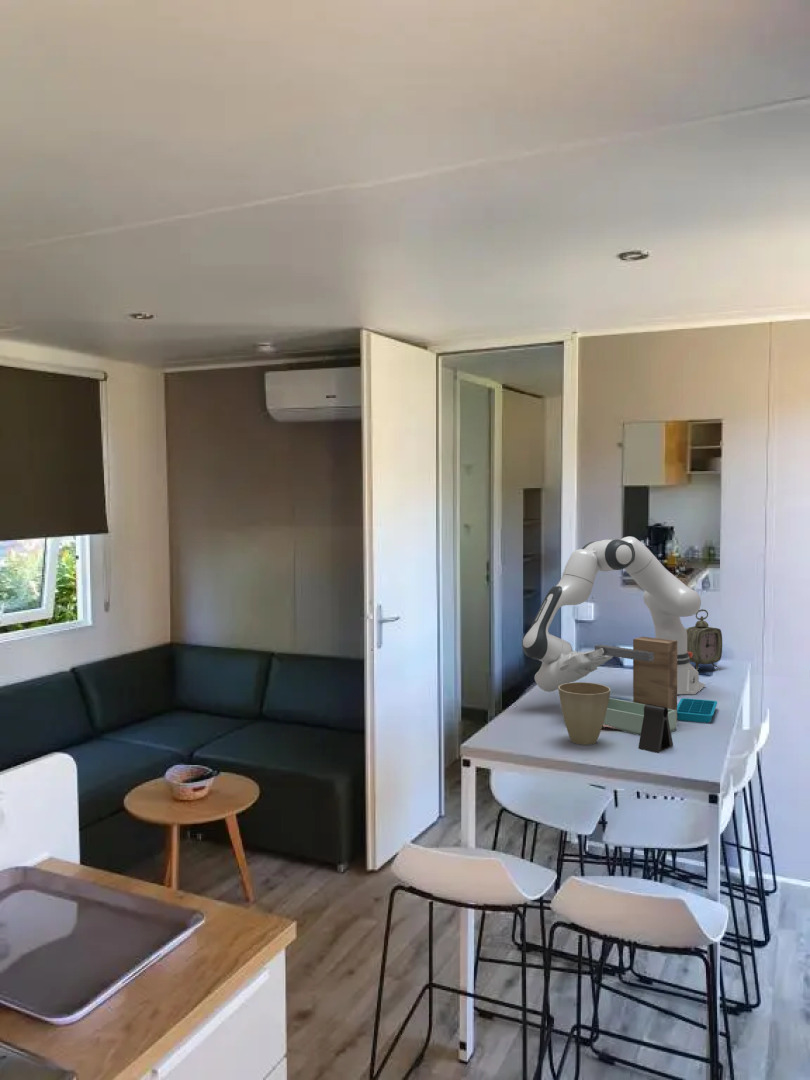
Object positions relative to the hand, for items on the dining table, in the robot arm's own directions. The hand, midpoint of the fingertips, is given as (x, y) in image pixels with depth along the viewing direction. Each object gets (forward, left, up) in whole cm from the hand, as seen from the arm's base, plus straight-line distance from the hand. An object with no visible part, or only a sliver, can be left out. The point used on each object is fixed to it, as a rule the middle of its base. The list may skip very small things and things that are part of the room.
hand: (607, 649), depth 264 cm
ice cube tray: (-27, +16, -24) cm, 40 cm away
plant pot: (+23, +6, -24) cm, 33 cm away
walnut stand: (-11, +10, -23) cm, 28 cm away
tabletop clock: (-92, -14, -24) cm, 96 cm away
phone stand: (+14, +24, -24) cm, 37 cm away
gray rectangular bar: (0, +6, -2) cm, 6 cm away
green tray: (0, +6, -23) cm, 24 cm away
